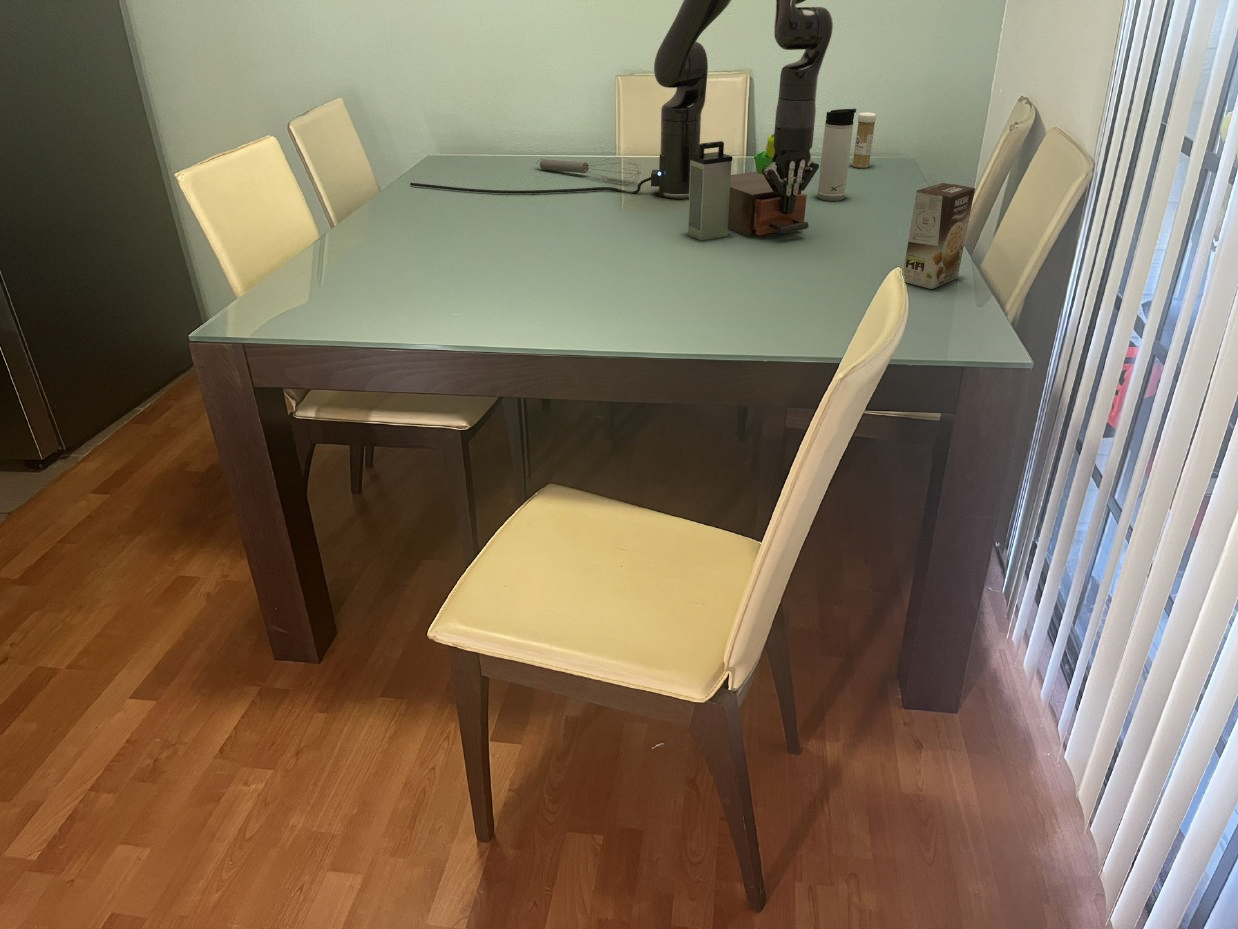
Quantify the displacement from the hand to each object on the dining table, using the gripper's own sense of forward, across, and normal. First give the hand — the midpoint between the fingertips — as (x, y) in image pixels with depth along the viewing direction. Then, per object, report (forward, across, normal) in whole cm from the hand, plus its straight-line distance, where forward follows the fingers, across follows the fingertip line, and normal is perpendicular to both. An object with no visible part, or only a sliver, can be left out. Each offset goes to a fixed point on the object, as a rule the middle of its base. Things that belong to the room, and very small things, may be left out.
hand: (786, 213), depth 182 cm
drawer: (+4, 0, -7) cm, 8 cm away
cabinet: (+5, 0, -12) cm, 13 cm away
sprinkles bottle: (+5, -59, -43) cm, 73 cm away
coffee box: (+5, -6, +34) cm, 35 cm away
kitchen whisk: (+5, +11, -68) cm, 69 cm away
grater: (+5, +13, -9) cm, 16 cm away
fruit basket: (+5, -32, -44) cm, 55 cm away
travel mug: (+5, -30, -20) cm, 36 cm away
